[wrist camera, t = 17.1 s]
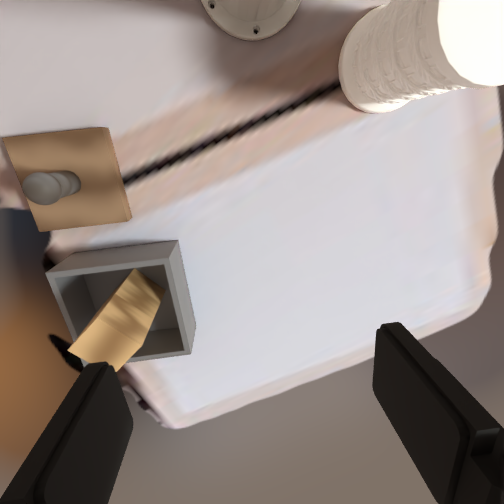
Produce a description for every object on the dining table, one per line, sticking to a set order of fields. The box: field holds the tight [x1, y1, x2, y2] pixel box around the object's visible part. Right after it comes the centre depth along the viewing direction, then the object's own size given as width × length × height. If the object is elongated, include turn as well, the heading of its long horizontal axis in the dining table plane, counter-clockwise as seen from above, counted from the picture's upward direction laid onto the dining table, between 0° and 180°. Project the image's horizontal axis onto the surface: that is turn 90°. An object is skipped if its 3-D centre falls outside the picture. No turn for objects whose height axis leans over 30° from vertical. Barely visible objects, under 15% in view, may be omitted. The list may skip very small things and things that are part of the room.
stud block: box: [2, 127, 132, 232], centre depth 34 cm, size 12×12×9 cm
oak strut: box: [68, 268, 166, 372], centre depth 38 cm, size 6×6×13 cm
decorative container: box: [338, 0, 504, 114], centre depth 28 cm, size 12×12×18 cm
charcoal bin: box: [45, 240, 196, 367], centre depth 42 cm, size 16×16×7 cm
